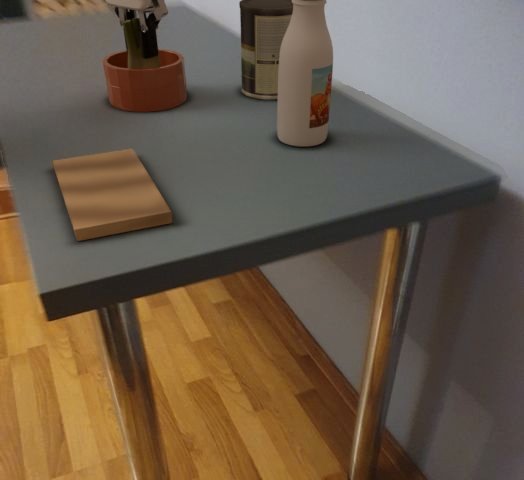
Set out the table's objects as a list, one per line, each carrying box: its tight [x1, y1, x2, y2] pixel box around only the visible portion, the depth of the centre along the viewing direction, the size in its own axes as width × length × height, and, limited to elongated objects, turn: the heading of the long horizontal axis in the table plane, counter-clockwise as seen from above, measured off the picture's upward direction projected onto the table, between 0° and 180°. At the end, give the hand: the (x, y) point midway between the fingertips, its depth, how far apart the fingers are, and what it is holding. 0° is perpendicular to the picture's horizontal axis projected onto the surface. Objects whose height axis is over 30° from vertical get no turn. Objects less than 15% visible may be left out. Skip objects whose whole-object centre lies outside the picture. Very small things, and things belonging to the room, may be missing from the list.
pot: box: [102, 48, 188, 113], centre depth 95 cm, size 14×14×6 cm
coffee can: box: [238, 0, 293, 101], centre depth 96 cm, size 10×10×14 cm
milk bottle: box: [276, 0, 334, 147], centre depth 77 cm, size 8×8×20 cm
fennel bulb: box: [123, 17, 161, 69], centre depth 93 cm, size 6×5×12 cm
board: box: [51, 148, 174, 242], centre depth 69 cm, size 20×11×2 cm, turn 23°
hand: (142, 54), depth 92 cm, fingers open, 3 cm apart
